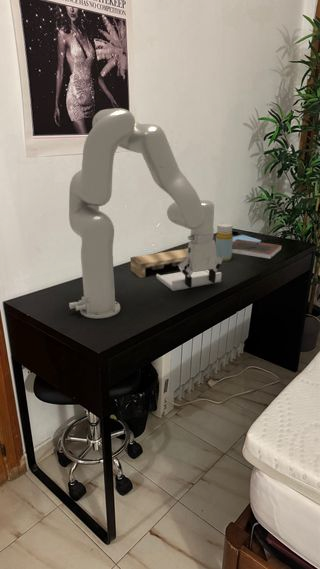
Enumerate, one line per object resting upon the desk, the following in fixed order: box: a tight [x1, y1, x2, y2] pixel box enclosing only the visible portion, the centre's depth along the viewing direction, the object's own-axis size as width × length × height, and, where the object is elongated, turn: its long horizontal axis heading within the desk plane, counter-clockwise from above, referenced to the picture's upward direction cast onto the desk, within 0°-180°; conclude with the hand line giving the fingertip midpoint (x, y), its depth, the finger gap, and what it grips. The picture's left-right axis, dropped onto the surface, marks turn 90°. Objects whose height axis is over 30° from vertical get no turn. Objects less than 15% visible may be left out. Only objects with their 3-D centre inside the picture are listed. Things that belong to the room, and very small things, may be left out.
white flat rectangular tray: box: [155, 270, 222, 292], centre depth 154 cm, size 20×14×4 cm
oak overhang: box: [130, 248, 188, 279], centre depth 166 cm, size 30×10×6 cm, turn 116°
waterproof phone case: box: [232, 234, 262, 243], centre depth 205 cm, size 14×12×1 cm
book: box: [232, 239, 282, 260], centre depth 189 cm, size 16×2×22 cm
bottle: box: [215, 222, 234, 262], centre depth 175 cm, size 7×7×15 cm
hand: (200, 283), depth 147 cm, fingers open, 9 cm apart
